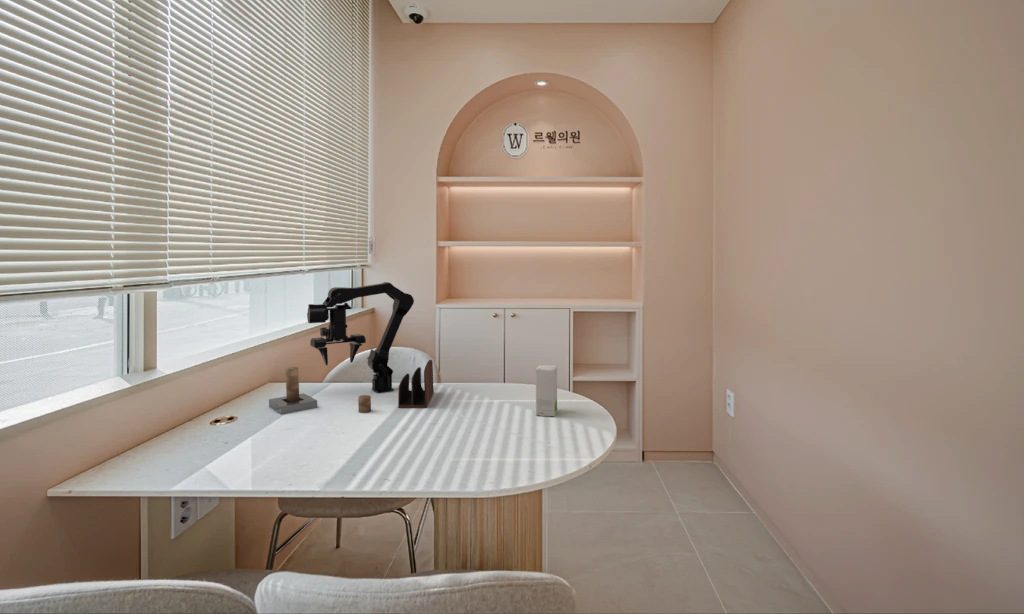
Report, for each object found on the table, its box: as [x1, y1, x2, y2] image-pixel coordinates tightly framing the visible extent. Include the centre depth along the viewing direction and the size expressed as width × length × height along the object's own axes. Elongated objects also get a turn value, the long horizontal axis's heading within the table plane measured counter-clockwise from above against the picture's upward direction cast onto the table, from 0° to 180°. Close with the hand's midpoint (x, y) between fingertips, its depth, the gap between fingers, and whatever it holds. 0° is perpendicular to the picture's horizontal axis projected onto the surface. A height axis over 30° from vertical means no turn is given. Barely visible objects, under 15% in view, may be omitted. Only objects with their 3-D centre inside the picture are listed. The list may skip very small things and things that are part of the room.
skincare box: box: [535, 364, 558, 417], centre depth 173 cm, size 8×7×16 cm
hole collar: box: [268, 392, 318, 415], centre depth 179 cm, size 12×12×2 cm
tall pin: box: [285, 366, 300, 403], centre depth 179 cm, size 4×4×14 cm
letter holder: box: [397, 359, 434, 409], centre depth 188 cm, size 10×20×14 cm, turn 2°
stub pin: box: [357, 394, 372, 414], centre depth 175 cm, size 4×4×5 cm
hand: (339, 363), depth 193 cm, fingers open, 9 cm apart
